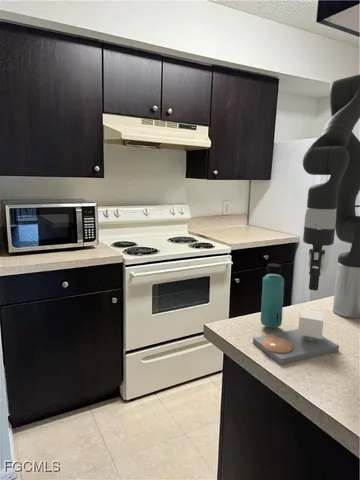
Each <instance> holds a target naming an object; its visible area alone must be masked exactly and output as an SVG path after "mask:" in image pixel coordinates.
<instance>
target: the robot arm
mask: <svg viewBox="0 0 360 480" xmlns="http://www.w3.org/2000/svg"><path fill="white" fill-rule="evenodd" d="M328 93H329V106H330V114H331V117H330V118H329V119H328V121H327V122H326V123H325V125H324V127H323V130H322V132H321V135H319V136H318V138H317V139H316V140H315V141H314V142H313V143H312V144H311V145H310V146H308V148H307V150H306V151H305V153H304V156H303V158H302V167H303V170H304V171H305V172H306V173H307V174H309V175H311V176H313V175H314V176H329V179H328V180H327V181H326V182H323V183H318V184H317V183H316V184H313V185H311V186H309V188H308V191H307V203H306V211H305V215H304V222H303V223H304V225H303V237H302V241H303V243H304V244H307V245H312V248H309V250H308V268H309V271H308V275H309V280H308V281H309V283H308V289H309V291H315V292H316V291H318V290H319V283H320V276H321V270H322V269H323V268H324V259H325V257H326V250H325V249H323V247H324V246H332V245H333V244H335V243H334V242H335V234H336V237H337V238H338V239H339V240H340V241H341V242H343V243H348V244H351V246H350V250H349V251H348V252H347V251H346V252H342V253H340V254H338V256H337V266H336V275H335V276H336V277H335V285H334V295H333V305H332V312H333V313H335V314H336V315H338V316H341V317H345V318H349V319H351V318H352V319H359V318H360V215H356V199H357V198H358V194H359V193H360V140H359V138H358V137H357V136H356V135H355V133H354V132H353V130H354V128H355V126H356V124H357V123H358V122H359V120H360V74H356V75H353V76H348V77H345V78H344V77H343V78H341V79H340V78H339V79H336V80H333V81H332V83H331V84H330V86H329V92H328Z"/></svg>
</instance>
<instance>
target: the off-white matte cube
mask: <svg viewBox="0 0 360 480" xmlns="http://www.w3.org/2000/svg"><path fill="white" fill-rule="evenodd" d="M324 317H325V315H324V312H321V311H314V310H310V309H309V310H307V309H300V313H299V320H298V328H297V329H298V335H304V336H310V337H315V338H321V339H322V336H323V332H324V331H323V330H324V329H323V328H324V321H325V318H324Z"/></svg>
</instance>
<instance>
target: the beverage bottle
mask: <svg viewBox="0 0 360 480" xmlns="http://www.w3.org/2000/svg"><path fill="white" fill-rule="evenodd" d="M266 272H267V274H266V275H265V276H263V277H262V289H261V290H262V292H261V305H260V306H261V307H260V322H261V325H263V326H265V327H268V328H279V327H281V325H282V323H283V317H284V315H283V314H284V313H283V308H284V289H285V287H284V286H285V279H284V277H283V276H282V275H280V274H281V273H282V265H281V264H278V263H268V264H267V268H266Z"/></svg>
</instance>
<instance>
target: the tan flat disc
mask: <svg viewBox="0 0 360 480" xmlns="http://www.w3.org/2000/svg"><path fill="white" fill-rule="evenodd" d="M262 346H263V347H264V348H265V349H267V350H269V351H271V352H275V353H288V352H290V351H292V350H293V344H292V343H291V342H290V341H288V340H286V339H284V338H280V337H267V338H264V339H263V340H262Z"/></svg>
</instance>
